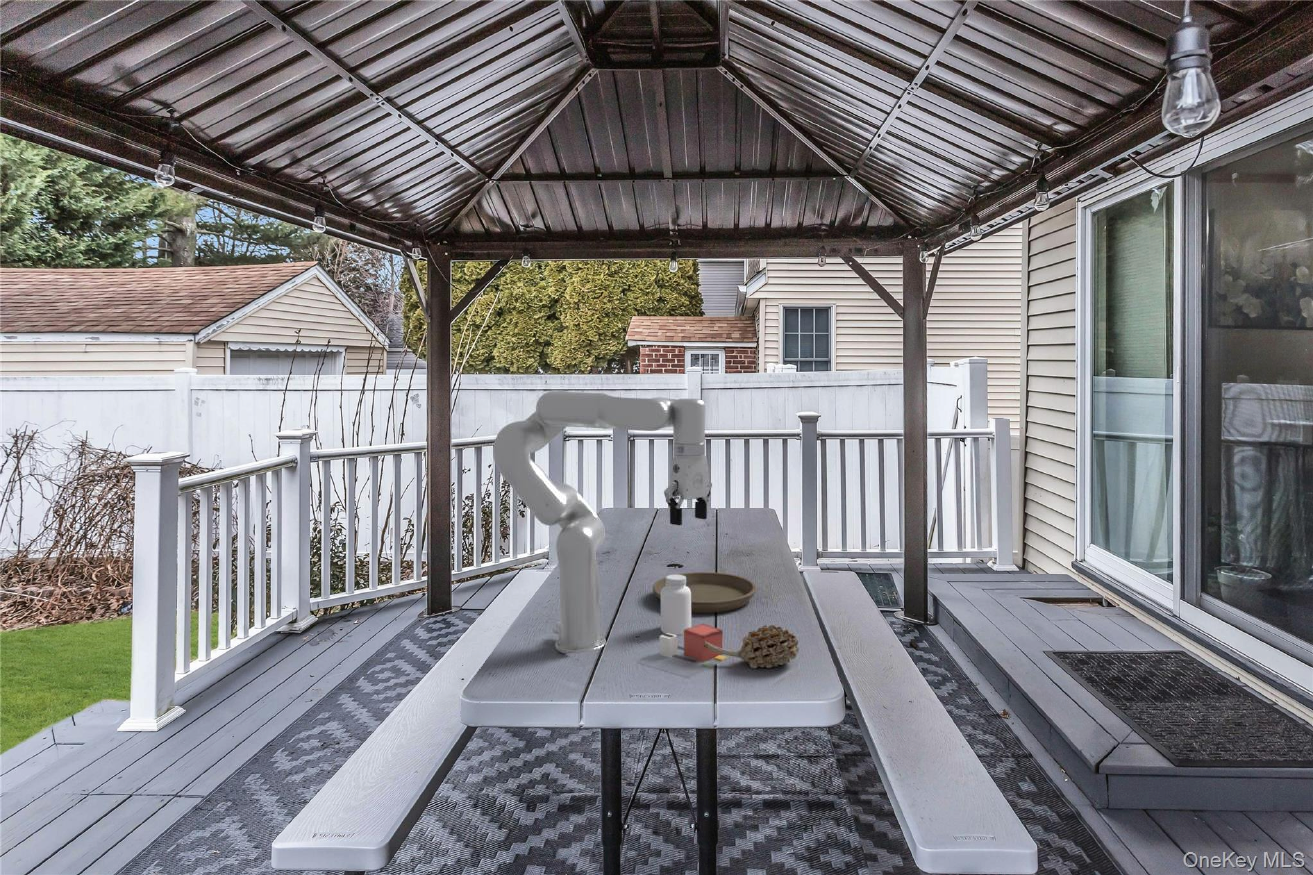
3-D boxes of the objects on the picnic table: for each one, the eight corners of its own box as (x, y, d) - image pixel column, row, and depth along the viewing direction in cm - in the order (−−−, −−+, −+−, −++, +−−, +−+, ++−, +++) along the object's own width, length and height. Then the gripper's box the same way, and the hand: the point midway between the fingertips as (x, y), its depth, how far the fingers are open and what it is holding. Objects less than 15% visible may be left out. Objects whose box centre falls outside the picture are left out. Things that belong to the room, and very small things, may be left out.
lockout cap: (683, 654, 180) (684, 629, 180) (702, 647, 185) (703, 623, 184) (703, 661, 176) (703, 636, 175) (722, 654, 180) (722, 630, 179)
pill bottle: (697, 632, 199) (697, 576, 198) (677, 640, 193) (676, 582, 192) (675, 626, 204) (674, 571, 203) (654, 633, 198) (653, 577, 197)
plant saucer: (747, 619, 209) (747, 603, 209) (639, 612, 218) (639, 596, 218) (763, 589, 239) (763, 574, 239) (668, 583, 248) (668, 569, 247)
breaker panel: (637, 666, 176) (636, 642, 176) (684, 644, 190) (684, 622, 189) (689, 682, 166) (688, 657, 166) (734, 658, 180) (734, 634, 180)
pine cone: (795, 660, 178) (795, 618, 178) (802, 676, 169) (802, 632, 168) (701, 660, 179) (701, 619, 178) (702, 676, 170) (702, 633, 169)
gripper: (678, 454, 172) (678, 529, 173) (722, 448, 185) (722, 518, 187) (653, 452, 177) (653, 525, 178) (698, 446, 190) (697, 514, 191)
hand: (688, 521), depth 182 cm, fingers open, 9 cm apart
